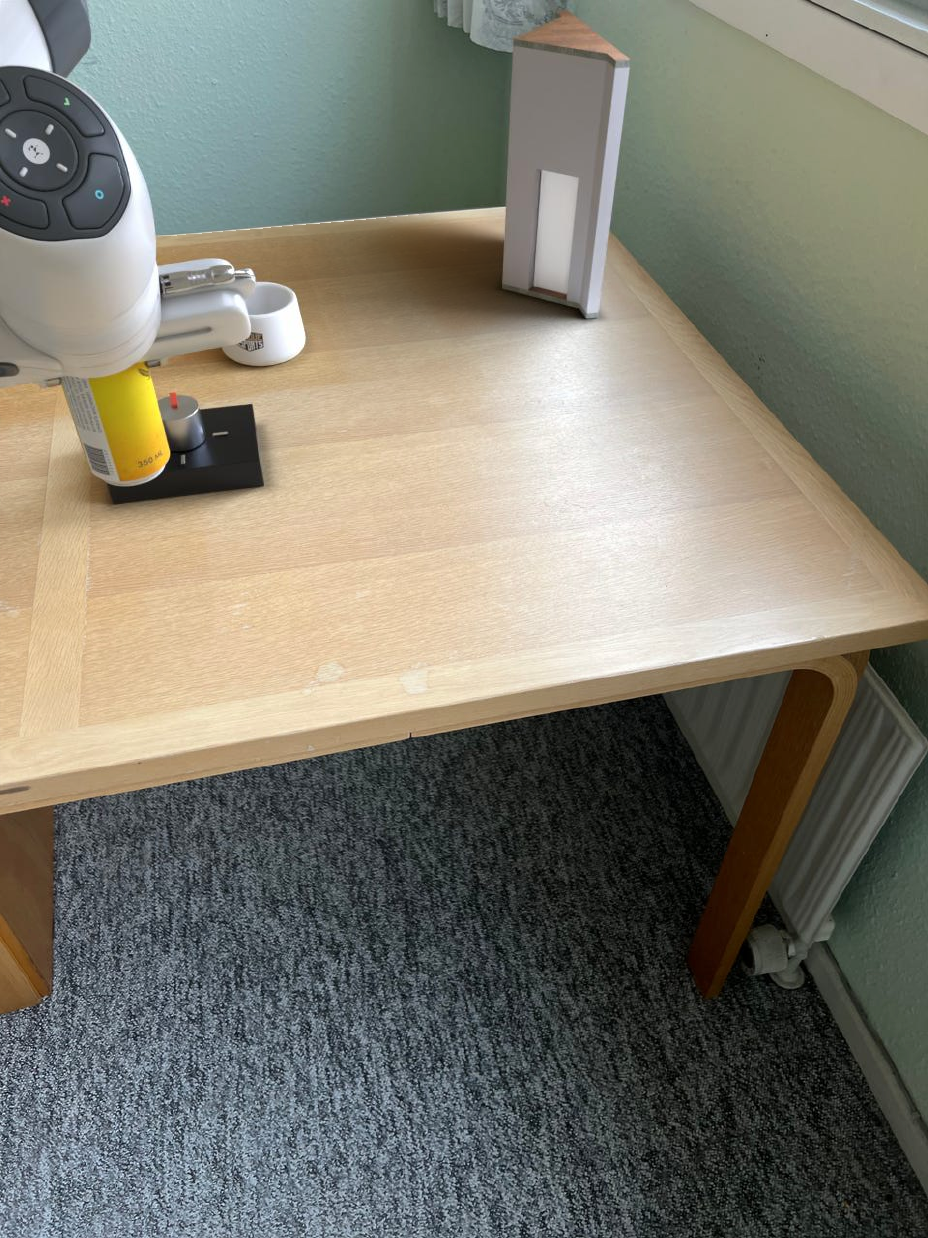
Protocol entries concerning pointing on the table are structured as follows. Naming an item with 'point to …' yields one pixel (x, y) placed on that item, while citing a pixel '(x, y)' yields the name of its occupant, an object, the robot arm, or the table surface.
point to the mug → (270, 327)
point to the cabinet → (562, 161)
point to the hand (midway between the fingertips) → (101, 365)
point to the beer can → (119, 425)
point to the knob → (182, 422)
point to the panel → (207, 460)
